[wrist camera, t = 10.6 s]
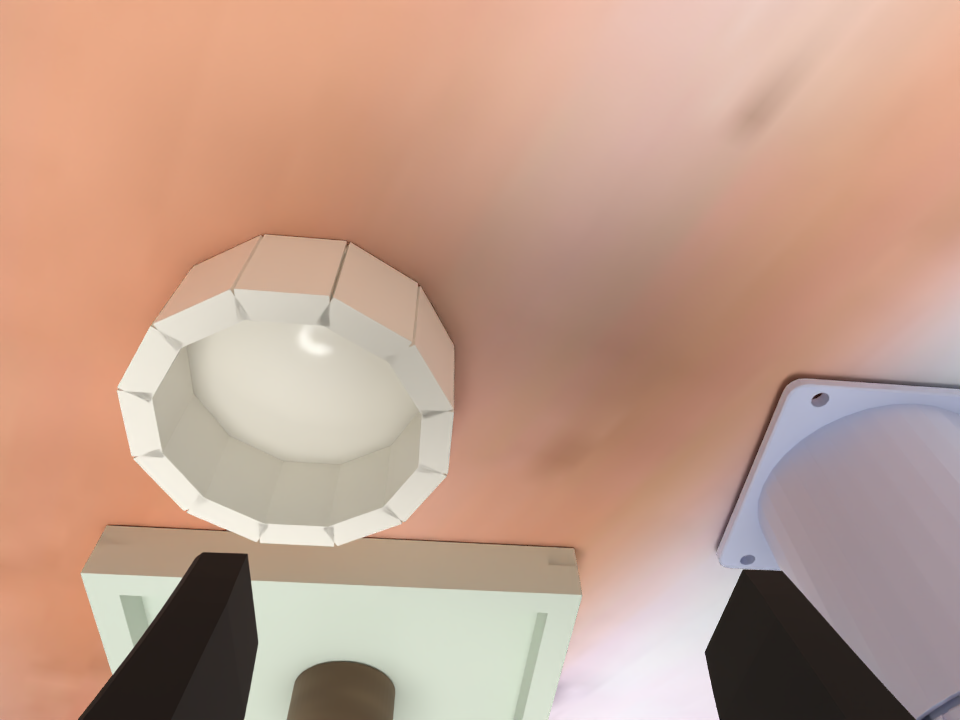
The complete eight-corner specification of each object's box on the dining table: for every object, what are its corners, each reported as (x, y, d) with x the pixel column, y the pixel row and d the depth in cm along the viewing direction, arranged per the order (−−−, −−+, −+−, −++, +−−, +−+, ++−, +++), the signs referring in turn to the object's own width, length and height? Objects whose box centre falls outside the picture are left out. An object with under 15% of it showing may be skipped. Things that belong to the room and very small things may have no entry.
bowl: (463, 250, 19) (464, 306, 16) (441, 480, 23) (439, 551, 21) (142, 224, 18) (91, 277, 15) (183, 465, 22) (149, 537, 20)
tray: (573, 548, 25) (582, 595, 23) (516, 777, 34) (519, 823, 32) (106, 525, 24) (80, 572, 22) (172, 769, 33) (157, 816, 31)
